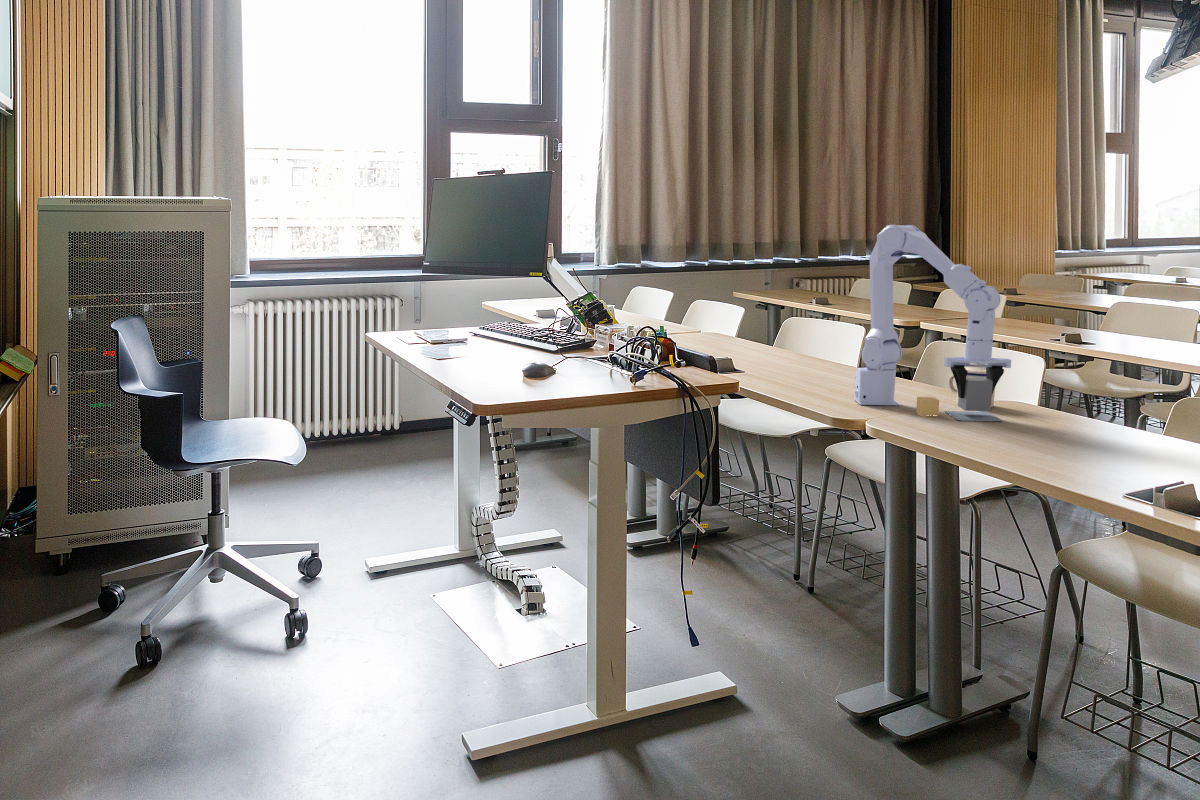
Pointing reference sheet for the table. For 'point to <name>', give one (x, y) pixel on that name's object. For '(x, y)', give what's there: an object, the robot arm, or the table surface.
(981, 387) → the blue-gray cube on pad
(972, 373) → the teacup with lid
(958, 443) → the table surface
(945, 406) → the table surface
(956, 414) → the slate mat
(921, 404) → the ochre cube
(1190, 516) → the table surface
